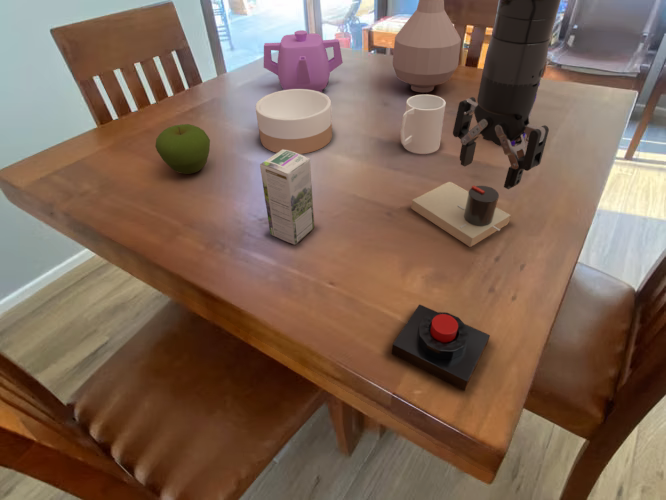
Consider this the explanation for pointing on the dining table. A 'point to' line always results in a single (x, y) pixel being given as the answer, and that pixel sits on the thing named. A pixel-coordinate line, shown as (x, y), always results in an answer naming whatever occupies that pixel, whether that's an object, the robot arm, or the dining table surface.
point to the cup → (422, 123)
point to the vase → (426, 47)
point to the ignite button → (444, 328)
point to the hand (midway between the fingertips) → (487, 175)
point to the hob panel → (455, 213)
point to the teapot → (303, 60)
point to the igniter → (440, 348)
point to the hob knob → (481, 205)
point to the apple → (184, 148)
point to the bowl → (294, 120)
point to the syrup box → (288, 195)
